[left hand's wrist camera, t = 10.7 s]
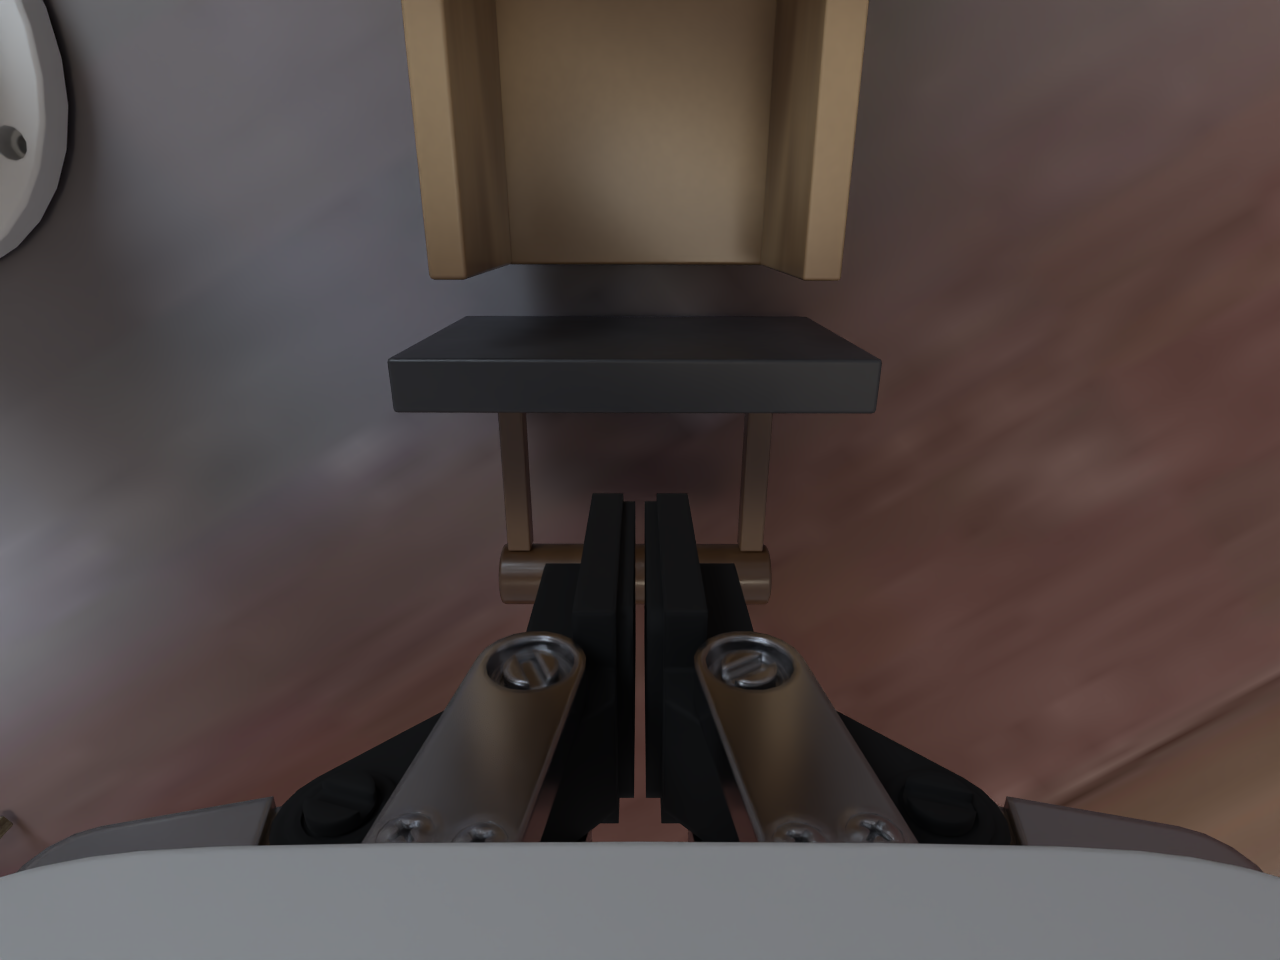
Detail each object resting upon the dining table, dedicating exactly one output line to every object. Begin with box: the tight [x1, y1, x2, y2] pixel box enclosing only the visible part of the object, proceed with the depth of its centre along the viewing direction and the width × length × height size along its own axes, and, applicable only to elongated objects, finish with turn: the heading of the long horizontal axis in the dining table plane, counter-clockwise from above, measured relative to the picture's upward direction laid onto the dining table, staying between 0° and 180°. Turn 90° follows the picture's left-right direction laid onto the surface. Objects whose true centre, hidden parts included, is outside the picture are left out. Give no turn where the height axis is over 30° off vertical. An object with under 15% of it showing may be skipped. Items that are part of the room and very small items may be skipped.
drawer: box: [388, 0, 882, 605], centre depth 16 cm, size 22×11×7 cm, turn 0°
